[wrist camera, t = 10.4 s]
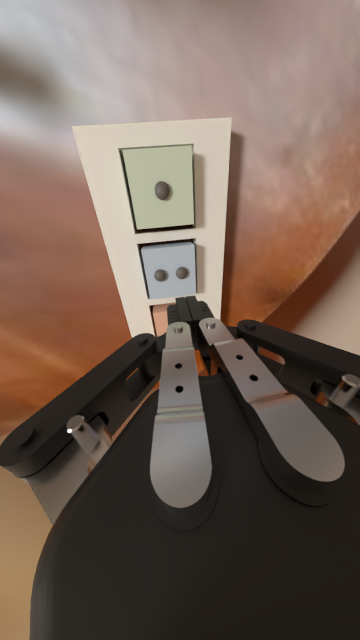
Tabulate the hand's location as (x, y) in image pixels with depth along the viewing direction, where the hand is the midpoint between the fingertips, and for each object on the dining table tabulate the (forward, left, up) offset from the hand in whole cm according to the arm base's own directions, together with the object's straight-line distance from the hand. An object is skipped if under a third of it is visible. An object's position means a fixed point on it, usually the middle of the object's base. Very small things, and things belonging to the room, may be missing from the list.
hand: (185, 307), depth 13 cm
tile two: (0, 0, -12) cm, 12 cm away
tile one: (0, -8, -12) cm, 14 cm away
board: (0, 0, -12) cm, 12 cm away
